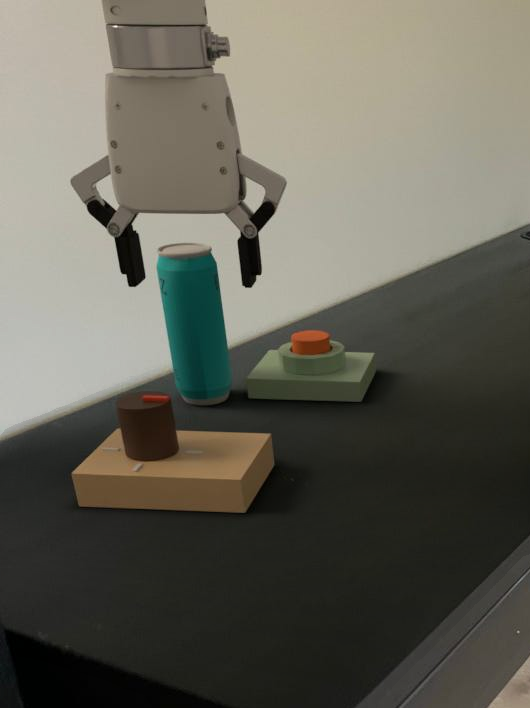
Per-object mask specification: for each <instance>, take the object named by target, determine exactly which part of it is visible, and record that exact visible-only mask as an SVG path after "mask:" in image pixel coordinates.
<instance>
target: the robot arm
mask: <svg viewBox="0 0 530 708" xmlns="http://www.w3.org/2000/svg"><path fill="white" fill-rule="evenodd" d="M101 5H102V11H103V17H104V23H105V31H106V37H107V42H108V48H109V55H110V61H111V67H112V72H108V73H106V74H105V79H104V104H105V105H104V108H105V110H104V112H105V130H106V145H107V155H105V156H104V157H102V158H100V159H98V161H96V162H94V163H92V164H90V165H89V166H88V167H86V168H84V169H82V170H81V171H79V172H77V174H74V175H73V176H72V177H71V178H70V179H69V180H70V185H71V187H72V189H73V190H74V191H75V193H76V194H77V196H78V197H79V199H80V200H81V202H82V203H83V204H84V205H85V207H86V210H87V212H88V214H89V215H90V216H91V217H93V218H94V219H95V220H96V221H97V222H98V223H99V224H101V226H103V227H104V228H105V229H106V231H107V233H108V235H109V236H110V237H113V239H114V244H115V250H116V255H117V256H116V257H117V261H118V266H119V272H120V273H121V275H126V282H127V285H128V287H129V288H136V287H138V286H139V285H140V284H141V283H143V282H144V280H145V279H146V278H147V276H146V269H145V263H144V257H143V251H142V245H141V239H140V234H139V232H138V231H137V230H135V229H134V226H133V224H134V223H135V221H136V219H137V218H138V216H139V214H166V215H174V214H175V215H217V214H219V215H221V214H224V215H225V216H226V217H227V218H228V219H229V220H230V222H232V224H233V225H234V226H235V227H236V228H237V229H238V231H239V234H240V236H239V237H238V239H237V240H236V241H237V251H238V252H237V253H238V260H239V268H240V279H241V285H242V287H244V288H245V289H252V288H253V286H254V285H255V283H256V282H257V276H262V273H263V266H262V265H263V264H262V256H261V247H260V245H261V244H260V237H259V233H260V232H261V230H262V229H263V228H264V227H265V226H266V225H267V224H268V222H269V221H270V220H271V219H272V217H273V216H274V215H275V214H276V213H277V211H278V208H279V206H280V203H281V200H282V197H283V195H284V193H285V190H286V188H287V184H288V181H287V179H286V177H284V176H282V175H281V174H279V173H277V172H275V171H274V170H272V169H270V168H268V167H266V166H264V165H262V164H261V163H259V162H258V161H256V160H254V159H251V158H250V157H248V156H246V155H244V154H243V150H242V145H241V140H240V133H239V129H238V128H239V127H238V123H237V117H236V113H235V107H234V103H233V99H232V96H231V92H230V91H231V90H230V88H229V85H228V81H227V78H226V75H225V73H221V72H215V71H214V66H215V65H216V61H217V59H221V57H223V58H224V57H231V44H230V40H229V37H228V36H219V34H216V33H214V31H212V28H211V26H208V24H209V20H208V13H207V3H206V0H101ZM108 176H110V179H111V183H112V190H113V193H114V197H115V200H116V202H117V204H118V205H119V206H118V207H117V209H115V207H113V206H112V205H111V204H110V203H109V202H108V201H106V200H105V199H104V198H103V197H102V195H101V194H100V192H99V190H98V188H97V184H98V183H99V182H100V181H102V180H104V179H105V178H107V177H108ZM247 179H249V180H251V181H252V182H254V183H256V184H258V185H260V186H261V187H262V188H263V189H264V191H265V193H264V196H263V200H262V202H261V203H260V206H259V207H258V208H257V209H256V210H255V212H254V211H253V210H252V208H250V207H249V205H248V204H247V203H246V202H245V201H244V200H245V199H246V197H247V191H248V190H247Z"/></svg>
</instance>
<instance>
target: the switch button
mask: <svg viewBox="0 0 530 708" xmlns="http://www.w3.org/2000/svg"><path fill="white" fill-rule="evenodd" d="M290 338H291V342H292V350H293V353H295V354H300V355H317V354H324V353H327V352H330V340H331V339H330V334H329V333H328V332H326V331H322V330H301V331H297V332H295V333H292V334H291V337H290Z"/></svg>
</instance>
